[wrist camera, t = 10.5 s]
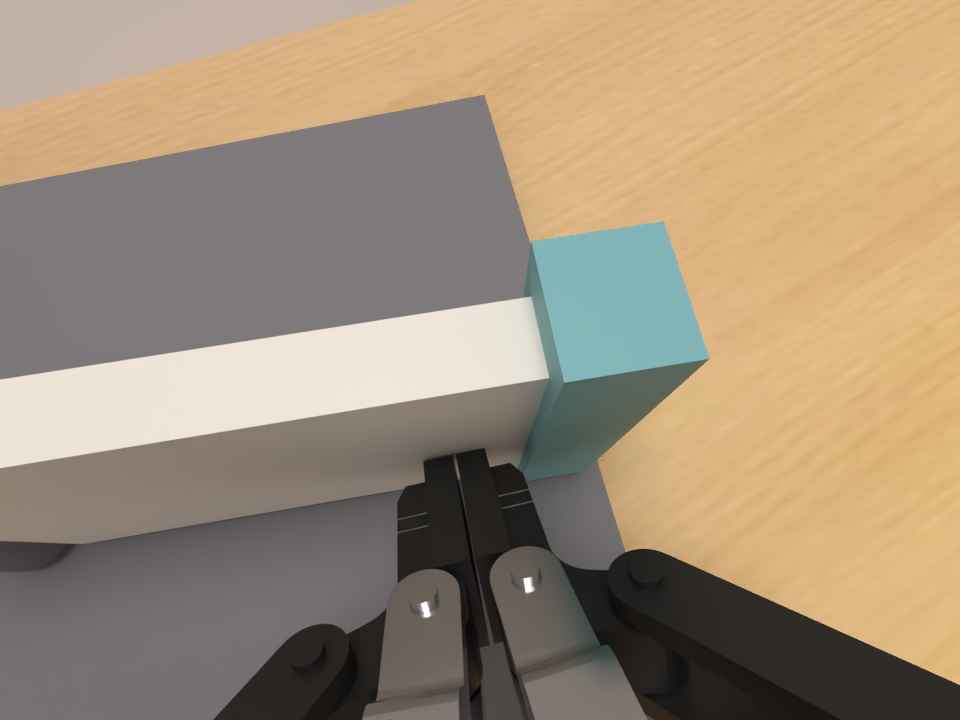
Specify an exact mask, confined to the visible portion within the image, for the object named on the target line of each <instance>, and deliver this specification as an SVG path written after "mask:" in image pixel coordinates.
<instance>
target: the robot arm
mask: <svg viewBox="0 0 960 720" xmlns="http://www.w3.org/2000/svg"><path fill="white" fill-rule="evenodd" d="M456 458H457V463H458V469H459V475H460V480H461V486H462V491H463V497H464V502H465V507H464V503H463V498H462V494H461V490H460V485H459V481H458V476H457V472H456V467H455V463H454V459H453V455H448V456H444V457H439V458H435V459H430V460H426V461H423V465H424V478H425V482H423V483H419V484H414V485H410V486H406V487H405V489H404V491H403V492H402V494H401V496H400V498H399V500H398V502H397V519H398V521H397V532H398V534H397V576H398V582H397V585H396V586H395V587H394V589H393V590H392V592H391V593H390V596H389V598H388V602H387V608H386V609H385V610H384V611H383V612H382V613H381V614H380V615H379V616H377V617H376V618H375V619H373V620H372V621H370V622H368V623H367V624H365V625H363V626H361V627H359V628H357V629H355V630H354V631H352V632H350V633H348V634H346V633H345V632H344V631H343V630H342V629H341V628H339V627H338V626H335V625H332V624H317V625H312V626H310V627H307V628H304V629H302V630H300V631H299V632H297V633H295V634H294V635H293V636H291V637H290V638H289V639H287V640H286V641H285V642H284V643H283V644H282V645H281V647H280V648H279V649H278V650H277V651H276V652H275V653H274V654H273V655H272V656H271V657H270V658H269V660H268V661H267V662H266V663H265V664H264V665H263V666H262V667H261V668H260V669H259V670H258V672H257V673H256V674H255V675H254V676H253V677H252V678H251V679H250V680H249V681H248V682H247V683H246V685H245V686H244V687H243V688H242V689H241V690H240V691H239V692H238V693H237V694H236V695H235V696H234V698H233V699H232V700H231V701H230V702H229V703H228V704H227V705H226V706H225V707H224V708H223V710H222V711H221V712H220V713H219V714H218V715H217V716H216V717H215V718H214V719H213V720H487V717H486V704H485V692H484V684H483V679H482V676H483V665H482V659H481V653H480V648H481V647H485V646H489V645H490V643H489V637H488V631H487V626H486V620H485V615H484V609H483V604H482V598H481V593H480V587H479V582H478V576H477V571H476V566H477V570H478V575H479V579H480V584H481V588H482V592H483V597H484V601H485V606H486V610H487V614H488V619H489V623H490V628H491V632H492V636H493V641H494V644H496V643H500V642H503V644H504V648H505V653H506V658H507V662H508V666H509V671H510V676H511V680H512V684H513V687H514V691H515V694H516V698H517V701H518V704H519V708H520V711H521V715H522V718H523V720H647V718H646V716H645V714H646V715H648V716H649V717H651V718H652V719H654V720H960V685H958V684H956V683H954V682H952V681H949V680H947V679H945V678H943V677H940V676H938V675H936V674H934V673H931V672H929V671H927V670H925V669H922V668H920V667H918V666H916V665H913V664H911V663H909V662H907V661H905V660H902V659H900V658H898V657H896V656H893V655H891V654H889V653H887V652H884V651H882V650H880V649H878V648H875V647H873V646H871V645H869V644H866V643H864V642H862V641H860V640H858V639H855V638H853V637H851V636H849V635H846V634H844V633H842V632H840V631H837V630H835V629H833V628H831V627H828V626H826V625H824V624H822V623H819V622H817V621H815V620H813V619H810V618H808V617H806V616H804V615H802V614H799V613H797V612H795V611H793V610H790V609H788V608H786V607H784V606H781V605H779V604H777V603H775V602H772V601H770V600H768V599H766V598H763V597H761V596H759V595H757V594H755V593H752V592H750V591H748V590H746V589H743V588H741V587H739V586H737V585H734V584H732V583H730V582H728V581H725V580H723V579H721V578H719V577H716V576H714V575H712V574H710V573H707V572H705V571H703V570H701V569H699V568H696V567H694V566H692V565H690V564H687V563H685V562H683V561H681V560H678V559H676V558H674V557H672V556H669V555H667V554H665V553H662V552H659V551H655V550H650V549H637V550H631V551H628V552H625V553H623V554H621V555H620V556H618V557H617V558H616V559H615V560H614V561H613V562H612V563H611V565H610V567H609V569H608V570H589V569H581V568H576V567H573V566H570V565H568V564H566V563H564V562H563V561H561V560H560V559H559V558H558V557H556V556H555V554H554V553H553V552H552V550H551V548H550V546H549V543H548V541H547V538H546V535H545V532H544V530H543V527H542V524H541V521H540V519H539V516H538V513H537V510H536V508H535V505H534V503H533V499H532V497H531V494H530V491H529V489H528V486H527V483H526V480H525V477H524V475H523V473H522V472H521V471H520V470H518V469H517V468H516V467H515V466H513V465H512V464H511V463H506V464H502V465H498V466H493V467H490V466H489V462H488V458H487V455H486V451H485V448H482V449H477V450H472V451H467V452H462V453H457V454H456ZM465 508H466V512H465ZM466 513H467V517H466ZM467 519H468V522H467ZM468 524H469V527H468ZM469 530H470V532H469ZM470 535H471V537H470ZM471 541H472V543H471ZM472 546H473V548H472ZM473 552H474V554H473ZM474 557H475V560H474ZM475 562H476V565H475ZM644 713H645V714H644Z"/></svg>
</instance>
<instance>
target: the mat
mask: <svg viewBox="0 0 960 720" xmlns="http://www.w3.org/2000/svg"><path fill="white" fill-rule="evenodd" d="M530 248H531V245H530V242H529V239H528V236H527V232H526V229H525V226H524V223H523V219H522V216H521V213H520V210H519V206H518V203H517V200H516V197H515V193H514V190H513V187H512V184H511V180H510V177H509V174H508V171H507V167H506V164H505V161H504V158H503V154H502V151H501V148H500V145H499V141H498V138H497V135H496V132H495V128H494V125H493V122H492V119H491V115H490V112H489V109H488V106H487V102H486V99H485V96H484V95H481V96H476V97H471V98H465V99H460V100H455V101H450V102H444V103H439V104H434V105H428V106H423V107H418V108H413V109H407V110H402V111H397V112H391V113H386V114H381V115H376V116H370V117H365V118H360V119H354V120H349V121H344V122H339V123H333V124H328V125H323V126H317V127H312V128H307V129H301V130H296V131H291V132H286V133H280V134H275V135H270V136H264V137H259V138H254V139H249V140H243V141H238V142H233V143H227V144H222V145H217V146H212V147H206V148H201V149H196V150H190V151H185V152H180V153H175V154H169V155H164V156H159V157H153V158H148V159H143V160H138V161H132V162H127V163H122V164H116V165H111V166H106V167H101V168H95V169H90V170H85V171H79V172H74V173H69V174H64V175H58V176H53V177H48V178H42V179H37V180H32V181H26V182H21V183H16V184H11V185H5V186H0V380H1V379H7V378H14V377H20V376H26V375H33V374H39V373H46V372H52V371H58V370H65V369H71V368H78V367H84V366H90V365H97V364H103V363H109V362H116V361H122V360H129V359H135V358H141V357H148V356H154V355H161V354H167V353H173V352H180V351H186V350H193V349H199V348H205V347H212V346H218V345H224V344H231V343H237V342H244V341H250V340H256V339H263V338H269V337H276V336H282V335H288V334H295V333H301V332H308V331H314V330H320V329H327V328H333V327H339V326H346V325H352V324H359V323H365V322H371V321H378V320H384V319H391V318H397V317H403V316H410V315H416V314H423V313H429V312H435V311H442V310H448V309H454V308H461V307H467V306H474V305H480V304H486V303H493V302H499V301H506V300H512V299H518V298H523V295H524V288H525V282H526V275H527V268H528V261H529V254H530ZM458 481H459V485H460V490H461V494H462V498H463V503H464V507H465V502H464V497H463V491H462V486H461V480H460V479H459V480H458ZM526 483H527V486H528V489H529V491H530V494H531V497H532V499H533V503H534V505H535V508H536V510H537V513H538V516H539V519H540V521H541V524H542V527H543V530H544V532H545V535H546V538H547V541H548V543H549V546H550V548H551V550H552V552H553V553H554V554H555V556H556V557H558V558H559V559H560V560H561V561H563V562H564V563H566V564H568V565H570V566H573V567H576V568H581V569H589V570H608V569H609V567H610V565H611V563H612V562H613V561H614V560H615V559H616V558H617V557H618V556H620V555H621V554H623V553H625V550H624V547H623V544H622V541H621V537H620V534H619V531H618V528H617V524H616V521H615V518H614V515H613V511H612V508H611V505H610V502H609V498H608V495H607V492H606V489H605V485H604V482H603V479H602V476H601V472H600V469H599V466H598V463H597V460H596V461H595V462H594V463H593V464H592V465H590V466H589V467H588V468H587V469H586V470H585V471H583V472H577V473H572V474H566V475H560V476H554V477H549V478H543V479H537V480H531V481H526ZM403 491H404V489H401V490H395V491H389V492H383V493H377V494H372V495H366V496H360V497H354V498H348V499H343V500H337V501H331V502H325V503H319V504H314V505H308V506H302V507H296V508H290V509H285V510H279V511H273V512H267V513H261V514H255V515H250V516H244V517H238V518H232V519H226V520H221V521H215V522H209V523H203V524H197V525H192V526H186V527H180V528H174V529H168V530H163V531H157V532H151V533H145V534H139V535H134V536H128V537H122V538H116V539H110V540H104V541H99V542H93V543H87V544H67V545H66V546H65V548H64V549H63V550H62V551H61V553H60V554H59V555H58V556H57V557H56V558H55V559H53V560H52V561H51V562H49V563H48V564H46V565H45V566H43V567H41V568H38V569H35V570H32V571H26V572H0V720H213V719H214V718H215V717H216V716H217V715H218V714H219V713H220V712H221V711H222V710H223V708H224V707H225V706H226V705H227V704H228V703H229V702H230V701H231V700H232V699H233V698H234V696H235V695H236V694H237V693H238V692H239V691H240V690H241V689H242V688H243V687H244V686H245V685H246V683H247V682H248V681H249V680H250V679H251V678H252V677H253V676H254V675H255V674H256V673H257V672H258V670H259V669H260V668H261V667H262V666H263V665H264V664H265V663H266V662H267V661H268V660H269V658H270V657H271V656H272V655H273V654H274V653H275V652H276V651H277V650H278V649H279V648H280V647H281V645H282V644H283V643H284V642H285V641H286V640H287V639H289V638H290V637H291V636H293V635H294V634H295V633H297V632H299V631H300V630H302V629H304V628H307V627H310V626H312V625H317V624H332V625H335V626H338V627H339V628H341V629H342V630H343V631H344V632H345V633H346V634H348V633H350V632H352V631H354V630H355V629H357V628H359V627H361V626H363V625H365V624H367V623H368V622H370V621H372V620H373V619H375V618H376V617H377V616H379V615H380V614H381V613H382V612H383V611H384V610H385V609H386V608H387V602H388V598H389V596H390V593H391V592H392V590H393V589H394V587H395V586H396V585H397V582H398V576H397V534H398V532H397V521H398V519H397V502H398V500H399V498H400V496H401V494H402V492H403ZM465 512H466V508H465ZM466 517H467V513H466ZM467 522H468V519H467ZM468 527H469V524H468ZM469 532H470V530H469ZM470 537H471V535H470ZM471 543H472V541H471ZM472 548H473V546H472ZM473 554H474V552H473ZM474 560H475V557H474ZM475 565H476V562H475ZM476 571H477V576H478V582H479V587H480V593H481V598H482V604H483V609H484V615H485V620H486V626H487V631H488V637H489V643H490V645H489V646H485V647H481V648H480V653H481V659H482V665H483V676H482V679H483V684H484V692H485V704H486V717H487V720H523V718H522V715H521V711H520V708H519V704H518V701H517V698H516V694H515V691H514V687H513V684H512V680H511V676H510V671H509V666H508V662H507V658H506V653H505V648H504V644H503V642H500V643H496V644H494V641H493V636H492V632H491V628H490V623H489V619H488V614H487V610H486V606H485V601H484V597H483V592H482V588H481V584H480V579H479V575H478V570H477V566H476ZM644 714H645V713H644ZM645 716H646V718H647V720H654V719H652V718H651V717H649V716H648V715H646V714H645Z"/></svg>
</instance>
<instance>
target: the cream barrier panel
mask: <svg viewBox="0 0 960 720" xmlns="http://www.w3.org/2000/svg"><path fill="white" fill-rule="evenodd" d="M707 360H709V356H708V353H707V350H706V347H705V344H704V341H703V338H702V335H701V332H700V329H699V326H698V323H697V320H696V317H695V314H694V311H693V308H692V305H691V302H690V299H689V296H688V293H687V290H686V287H685V284H684V281H683V278H682V275H681V272H680V269H679V266H678V263H677V260H676V257H675V254H674V251H673V248H672V245H671V242H670V239H669V236H668V233H667V230H666V227H665V224H664V221H663V222H657V223H650V224H644V225H637V226H630V227H624V228H617V229H611V230H604V231H597V232H591V233H584V234H578V235H571V236H564V237H558V238H551V239H545V240H538V241H531V248H530V254H529V261H528V268H527V275H526V282H525V288H524V295H523V298H518V299H512V300H506V301H499V302H493V303H486V304H480V305H474V306H467V307H461V308H454V309H448V310H442V311H435V312H429V313H423V314H416V315H410V316H403V317H397V318H391V319H384V320H378V321H371V322H365V323H359V324H352V325H346V326H339V327H333V328H327V329H320V330H314V331H308V332H301V333H295V334H288V335H282V336H276V337H269V338H263V339H256V340H250V341H244V342H237V343H231V344H224V345H218V346H212V347H205V348H199V349H193V350H186V351H180V352H173V353H167V354H161V355H154V356H148V357H141V358H135V359H129V360H122V361H116V362H109V363H103V364H97V365H90V366H84V367H78V368H71V369H65V370H58V371H52V372H46V373H39V374H33V375H26V376H20V377H14V378H7V379H1V380H0V572H26V571H32V570H35V569H38V568H41V567H43V566H45V565H46V564H48V563H49V562H51V561H52V560H53V559H55V558H56V557H57V556H58V555H59V554H60V553H61V551H62V550H63V549H64V548H65V546H66V545H67V544H87V543H93V542H99V541H104V540H110V539H116V538H122V537H128V536H134V535H139V534H145V533H151V532H157V531H163V530H168V529H174V528H180V527H186V526H192V525H197V524H203V523H209V522H215V521H221V520H226V519H232V518H238V517H244V516H250V515H255V514H261V513H267V512H273V511H279V510H285V509H290V508H296V507H302V506H308V505H314V504H319V503H325V502H331V501H337V500H343V499H348V498H354V497H360V496H366V495H372V494H377V493H383V492H389V491H395V490H401V489H405V487H406V486H410V485H414V484H419V483H423V482H425V478H424V465H423V461H426V460H430V459H435V458H439V457H444V456H448V455H453V459H454V463H455V467H456V472H457V476H458V480H459V479H460V475H459V469H458V463H457V458H456V454H457V453H462V452H467V451H472V450H477V449H482V448H485V451H486V455H487V458H488V462H489V466H490V467H493V466H498V465H502V464H506V463H511V464H512V465H513V466H515V467H516V468H517V469H518V470H520V471H521V472H522V473H523V475H524V477H525V480H526V481H531V480H537V479H543V478H549V477H554V476H560V475H566V474H572V473H577V472H583V471H585V470H586V469H587V468H588V467H589V466H590V465H592V464H593V463H594V462H595V461H596V460H597V459H598V458H599V457H600V456H602V455H603V454H604V453H605V452H606V451H607V450H608V449H609V448H610V447H612V446H613V445H614V444H615V443H616V442H617V441H618V440H619V439H620V438H622V437H623V436H624V435H625V434H626V433H627V432H628V431H629V430H631V429H632V428H633V427H634V426H635V425H636V424H637V423H638V422H639V421H641V420H642V419H643V418H644V417H645V416H646V415H647V414H648V413H649V412H651V411H652V410H653V409H654V408H655V407H656V406H657V405H658V404H660V403H661V402H662V401H663V400H664V399H665V398H666V397H667V396H668V395H670V394H671V393H672V392H673V391H674V390H675V389H676V388H677V387H678V386H680V385H681V384H682V383H683V382H684V381H685V380H686V379H687V378H689V377H690V376H691V375H692V374H693V373H694V372H695V371H696V370H697V369H699V368H700V367H701V366H702V365H703V364H704V363H705V362H706V361H707Z"/></svg>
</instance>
